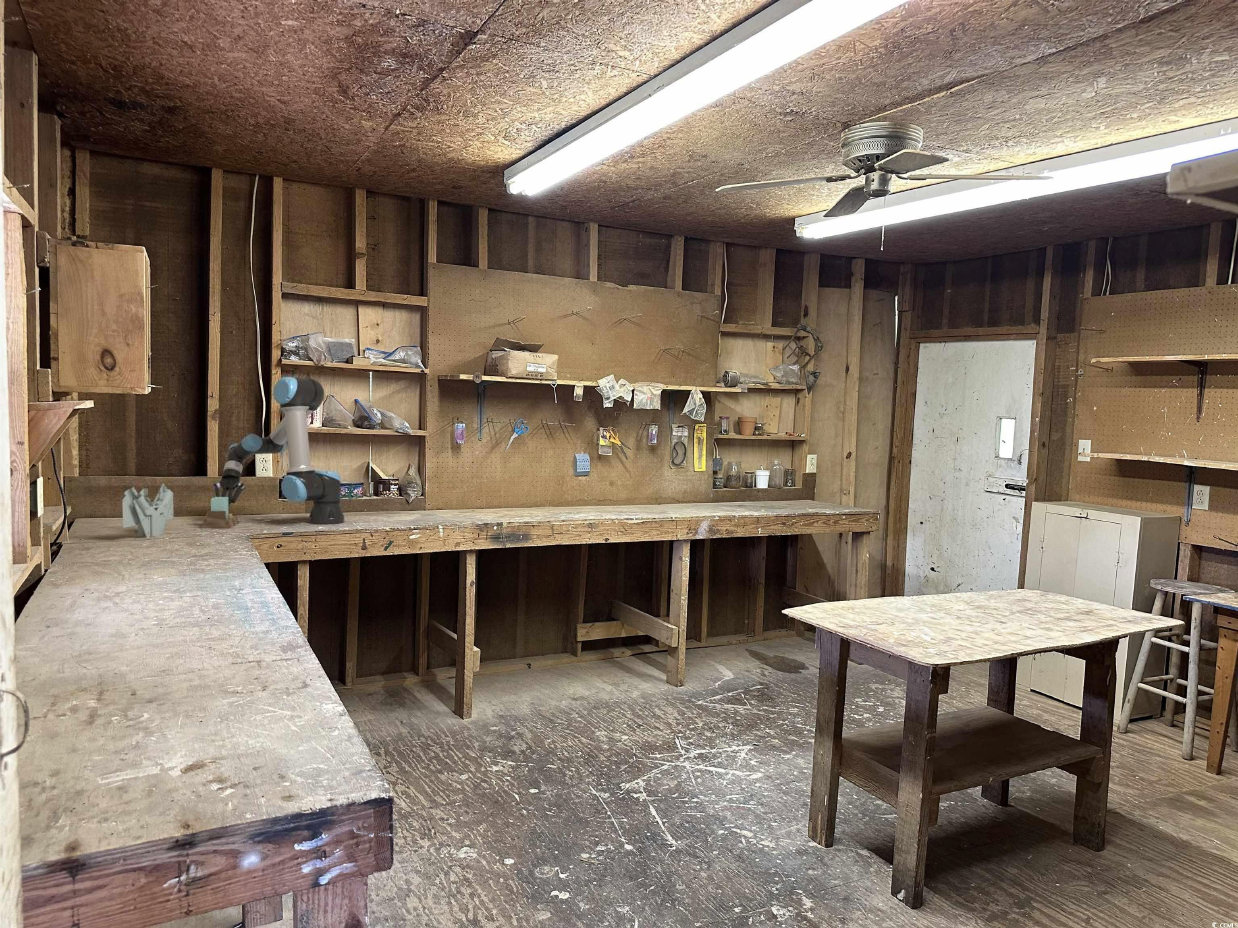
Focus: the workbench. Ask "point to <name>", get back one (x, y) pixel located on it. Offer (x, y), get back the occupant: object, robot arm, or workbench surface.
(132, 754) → the workbench surface
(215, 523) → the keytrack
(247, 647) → the workbench surface
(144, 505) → the bracket
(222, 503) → the mint green box
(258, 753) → the workbench surface
